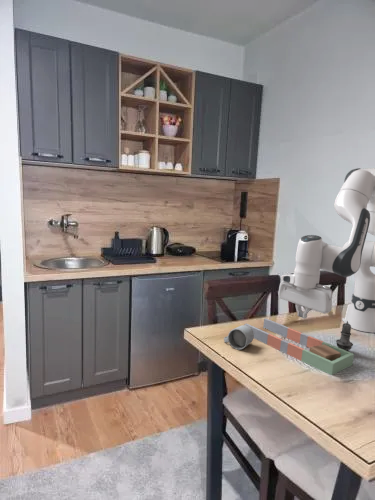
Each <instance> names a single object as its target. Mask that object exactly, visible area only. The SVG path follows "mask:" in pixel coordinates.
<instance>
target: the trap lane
mask: <svg viewBox="0 0 375 500" xmlns="http://www.w3.org/2000/svg"><path fill="white" fill-rule="evenodd" d="M244 325H246V326H249V327H250V328H251V329H252V330H253V332H254V339H255V340H257V341H259V342H261V343H263V344H265V345H267V346H270V347H271V348H274V349H276V350H277V351H280V352H282V353H285V355H288V356H291V357H292V358H295V359H296V360H299V361H301V362H303V363H306V364H307V365H309V366H312V367H314V369H317V370H319V371H322V372H324V373H326V374H328V375H330V376H333V375H335V374H337V373H339V372H341V371H343V370H346V368H349V367H351V366H353V364H354V363H353V362H354V357H355V354H354V353H353V352H351V351H350V352H348V351H346V350H343V349H341V348H338V347H337V345H336V346H335V345H334V344H330V343H329V342H325V341H323V340H321V339H318V338H315V337H313V336H311V335H309V334H306V333H304V332H300V331H299V330H295V329H293V328H291V327H288V326H286V325H284V324H281V323H280V322H279V323H278V322H276V321H273V320H271V319H268V318H264V319H263V329H265V328H266V329H265V330H267V329H268V331H270V332H272V333H275V334H277V335H279V336H281V337H284V338H285V339H288V340H291V341H293V342H295V343H298V344H300V345H301V346H305V347H306V348H308V349H310V347H313V346H319V345H324V344H325V345H327V346H329V347H330V348H332V349H334V350H336V351H338V352H340V353H341V356H340V358H338V359H336V360H333V361H330V360H328V359H326V358H323V357H321V356H319V355H317V354H314V353H312V352H310V351H309V350H307V349H305V348H303V347H300V346H298V345H296V344H294V343H291V342H289V341H287V340H285V339H282V338H280V337H278V336H275V335H274V334H271V333H270V332H267V331H264V330H262V329H260V328H258V327H255V326H253V325H251V324H249V323H244ZM254 339H253V340H254Z"/></svg>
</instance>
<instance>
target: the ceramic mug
mask: <svg viewBox="0 0 375 500" xmlns="http://www.w3.org/2000/svg"><path fill="white" fill-rule="evenodd" d="M223 341H224V343H228V344H229V345H230V346H231V347H232V348H233V349H235V350H238V351H240V350H243V349H245V348H247V346H249V345H250V344H251V343H252V342H253V341H254V332H253V330H252V329H251V328H250V327H249V326H246V325H243V324H242V325H239V326H237V327H235V328H233V329H231V330H230V331H229V332H228V334H227V336H224V337H223Z"/></svg>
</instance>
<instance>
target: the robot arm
mask: <svg viewBox="0 0 375 500" xmlns="http://www.w3.org/2000/svg"><path fill="white" fill-rule="evenodd" d="M333 206H334V207H333V208H334V210H335V212H336V213H337V214H338V215H339V216H340V218H342V219H343V220H344V221H346V222H348V223H350V224H352V227H351V231H350V234H349V238H348V240H347V241H346V242H345V243H344V244H343V245H342V246H338V245H332V244H328V243H327V242H325V241H324V240H323V238H322V237H321V236H320V235H314V234H309V235H307V234H306V235H303V236H300V238H299V240H298V242H297V247H296V252H295V258H294V260H295V267H294V269H293V270H294V271H293V273H287V274H283V275H281V278H280V280H281V282H280V283H279V287H278V297H279V299H280V300H283V301H286V302H290V303H293V304H295V309H296V311H297V314H296V315H297V317H299V318H302V319H307V317H308V314H309V313H310V311H311V310H313V311H315V312H317V313H320V314H321V313H322V314H324V315H325V314H328V313H330V312H331V311H332V308H333V299H332V298H333V293H334V292H333V290H332V289H331V288H330V287H329V286H327V285H323V284H320V278H321V277H320V276H321V271H320V270H322V271H325V272H328V273H333V274H335V275H338V276H340V277H343V278H348V277H351V276H353V275H354V289H353V293H352V295H351V303H349V304H348V305H347V309H346V312H345V316H344V317H342V318H341V320H342V322H344V323H347V321H348V323H349V324H350V325H351V329H353V330H357V331H360V332H365V333H373V334H374V333H375V273H373V272H372V270H371V268H370V267H373V268H375V241H372V240H366V239H367V235H368V233H369V234H370V235H373V237H375V167H373V168H372V167H368V168H358V167H357V168H353V169H351V170H350V171H348V172H347V173H346V174H345V177H344V182H343V184H342V185H341V187H340V189H339V191H338V193H337V196H336V197H335V200H334V204H333ZM302 307H303V309H304V311H302Z"/></svg>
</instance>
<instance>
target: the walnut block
mask: <svg viewBox="0 0 375 500" xmlns="http://www.w3.org/2000/svg"><path fill="white" fill-rule="evenodd" d="M308 351H310V352H312V353H314V354H317V355H319V356H321V357H323V358H326V359H328V360H330V361H333V360H336V359H338V358H340V356H341V353H340V352H338V351H336V350H334V349H332V348H330V347H329V346H327V345H325V344H324V345H319V346H313V347H310V348H309V350H308Z"/></svg>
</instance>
